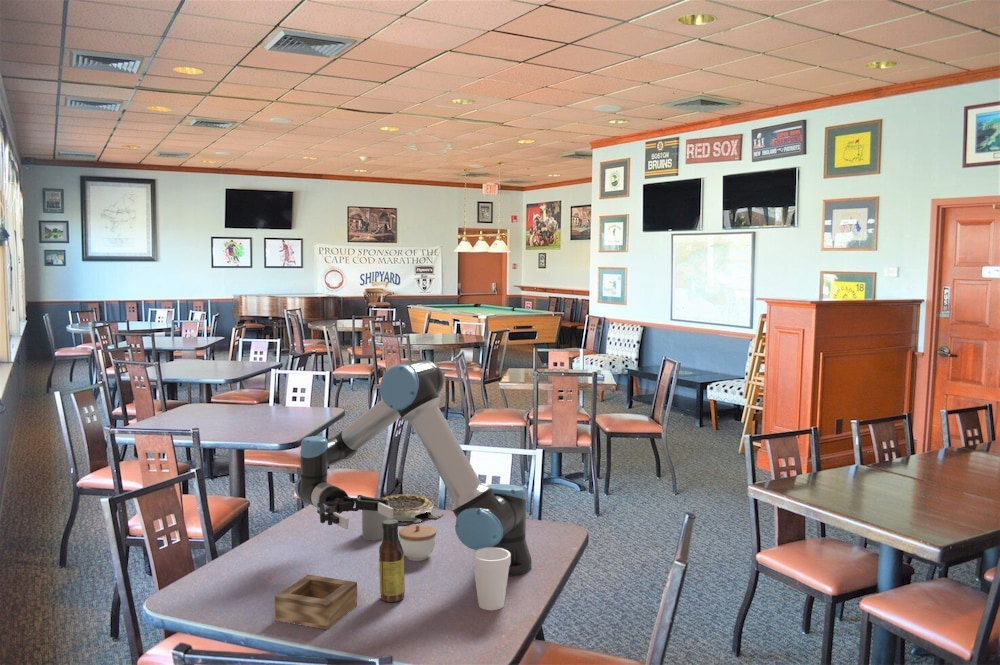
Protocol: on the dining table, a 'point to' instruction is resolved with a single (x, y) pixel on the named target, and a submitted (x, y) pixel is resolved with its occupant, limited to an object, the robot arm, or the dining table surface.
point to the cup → (372, 524)
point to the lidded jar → (417, 541)
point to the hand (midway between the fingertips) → (370, 518)
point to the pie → (409, 506)
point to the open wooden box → (316, 601)
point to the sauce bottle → (391, 563)
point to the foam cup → (491, 576)
